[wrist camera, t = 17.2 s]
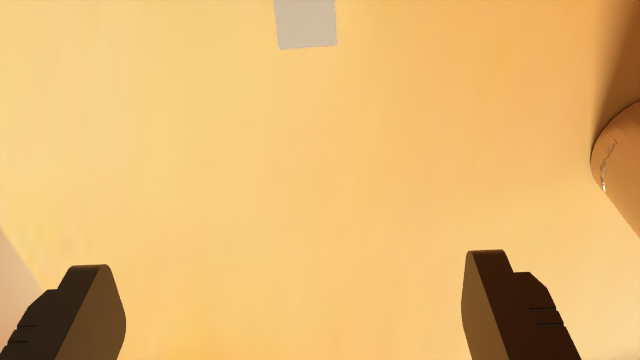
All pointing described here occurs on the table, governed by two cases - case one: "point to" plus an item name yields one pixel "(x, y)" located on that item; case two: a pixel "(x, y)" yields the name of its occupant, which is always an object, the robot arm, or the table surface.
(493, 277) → the robot arm
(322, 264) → the table surface
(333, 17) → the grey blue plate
